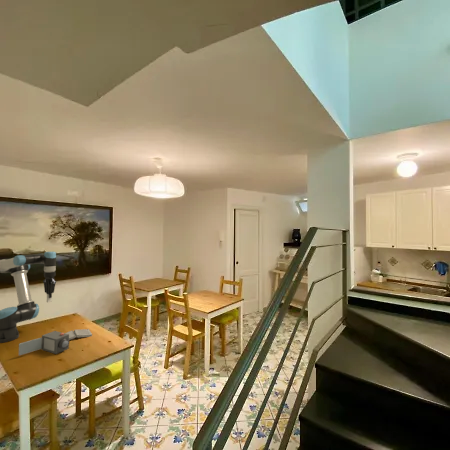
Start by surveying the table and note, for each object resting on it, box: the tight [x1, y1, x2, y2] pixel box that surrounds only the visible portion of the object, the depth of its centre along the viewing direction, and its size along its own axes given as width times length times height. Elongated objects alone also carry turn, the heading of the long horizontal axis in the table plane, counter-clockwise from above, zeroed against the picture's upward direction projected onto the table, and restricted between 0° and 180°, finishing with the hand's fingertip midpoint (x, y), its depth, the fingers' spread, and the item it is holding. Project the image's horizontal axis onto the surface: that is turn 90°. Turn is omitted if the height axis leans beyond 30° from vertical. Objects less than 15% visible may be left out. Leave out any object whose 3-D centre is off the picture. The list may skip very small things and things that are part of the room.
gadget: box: [64, 328, 93, 341], centre depth 199 cm, size 23×15×4 cm, turn 128°
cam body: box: [41, 330, 70, 355], centre depth 177 cm, size 19×9×11 cm, turn 66°
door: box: [18, 336, 43, 356], centre depth 171 cm, size 13×2×8 cm, turn 142°
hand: (49, 301), depth 193 cm, fingers closed
